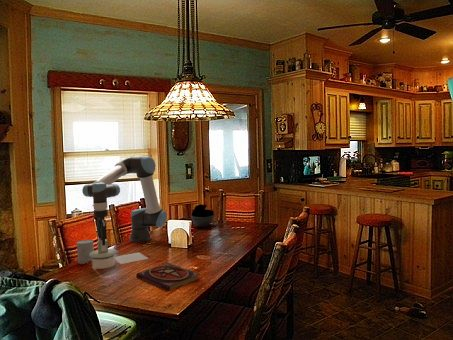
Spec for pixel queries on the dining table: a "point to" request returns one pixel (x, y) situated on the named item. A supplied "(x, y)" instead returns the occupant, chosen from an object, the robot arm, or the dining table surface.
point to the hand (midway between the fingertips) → (102, 249)
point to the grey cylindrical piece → (84, 251)
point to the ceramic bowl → (103, 262)
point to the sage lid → (100, 253)
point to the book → (168, 276)
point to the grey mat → (130, 258)
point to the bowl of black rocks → (202, 216)
